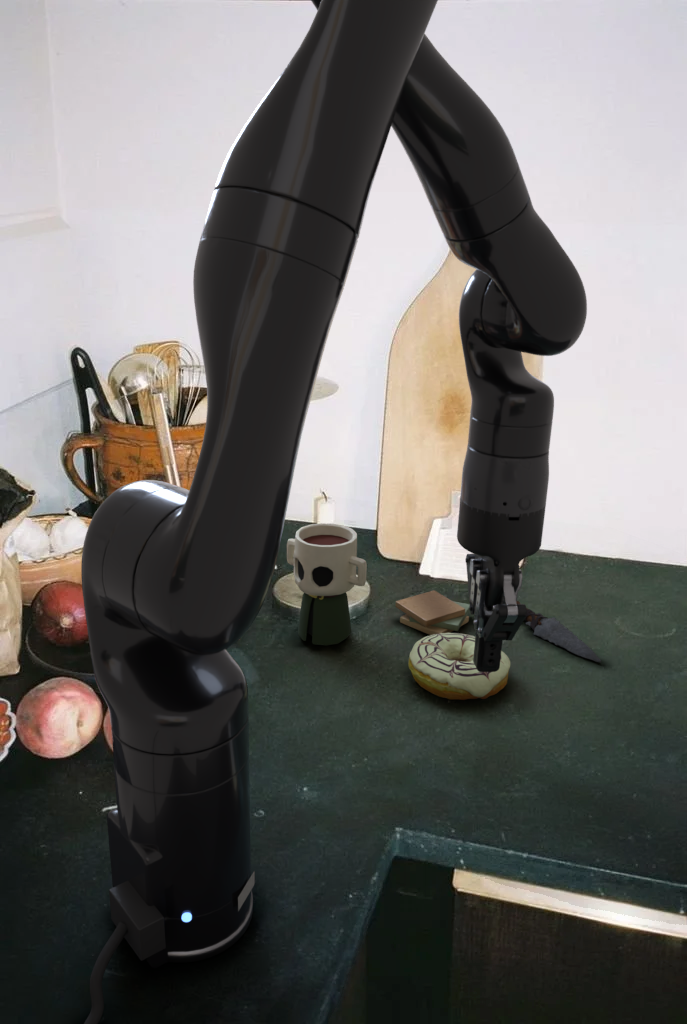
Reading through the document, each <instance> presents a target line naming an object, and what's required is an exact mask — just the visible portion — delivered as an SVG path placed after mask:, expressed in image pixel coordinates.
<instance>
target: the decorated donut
mask: <svg viewBox="0 0 687 1024" xmlns="http://www.w3.org/2000/svg"><path fill="white" fill-rule="evenodd" d="M474 647H475V636H474V635H472V634H465V633H461V632H460V633H459V632H451V633H440V634H433V635H427V636H423V637H422V638H421V639H419V640H418V641H417V640H416V642H415V643H414V645H413V647H412V649H411V650H410V652H409V657H408V669H409V670H410V672H411V676H412V677H413V679H414V681H415V682H416V683H417V684H418V685H419V686H420V687H421V688H423V689H424V690H425V691H427V692H429V693H430V694H433V695H434V696H437V697H438V698H444V699H447V700H460V701H465V700H477V699H482V700H485V699H488V698H489V697H491V696H495V695H496V694H498V693H499V692H500V691H502V690H503V689H504V688H505V687H506V685H507V684H508V679H509V674H510V672H509V671H510V668H511V659H510V658H509V656H508V655H507V654H506V653H505V652H504V651H503V650H501V659H500V668H499V670H498V671H496V672H479V671H478V670H477V668H476V666H475V664H474V662H473V657H474Z"/></svg>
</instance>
